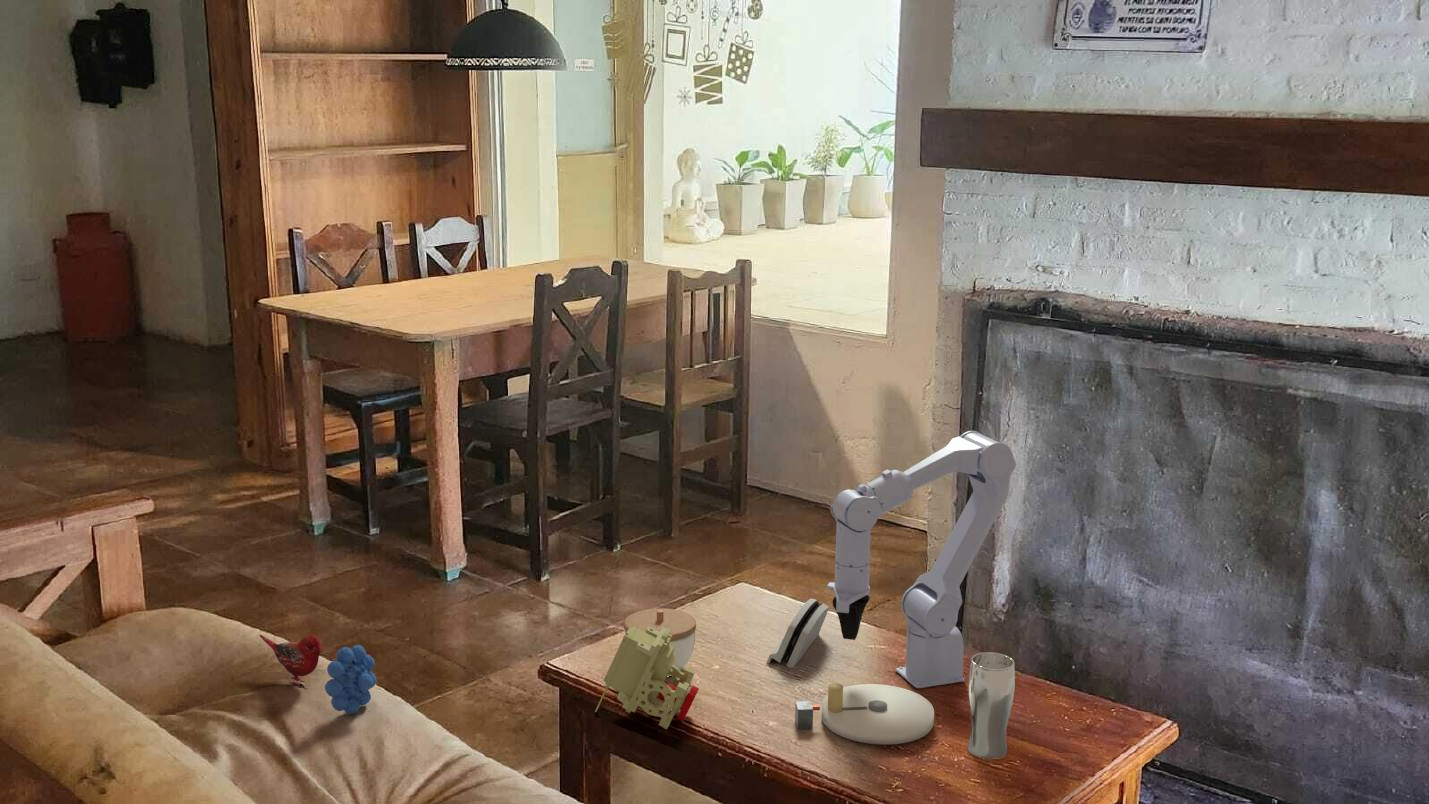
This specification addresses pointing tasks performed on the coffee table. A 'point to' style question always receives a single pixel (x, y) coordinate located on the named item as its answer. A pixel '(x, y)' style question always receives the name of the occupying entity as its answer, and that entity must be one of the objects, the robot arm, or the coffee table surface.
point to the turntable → (877, 713)
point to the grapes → (350, 679)
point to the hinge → (800, 633)
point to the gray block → (804, 714)
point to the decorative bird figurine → (297, 655)
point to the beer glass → (990, 703)
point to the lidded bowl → (671, 619)
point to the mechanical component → (650, 675)
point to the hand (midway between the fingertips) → (849, 637)
